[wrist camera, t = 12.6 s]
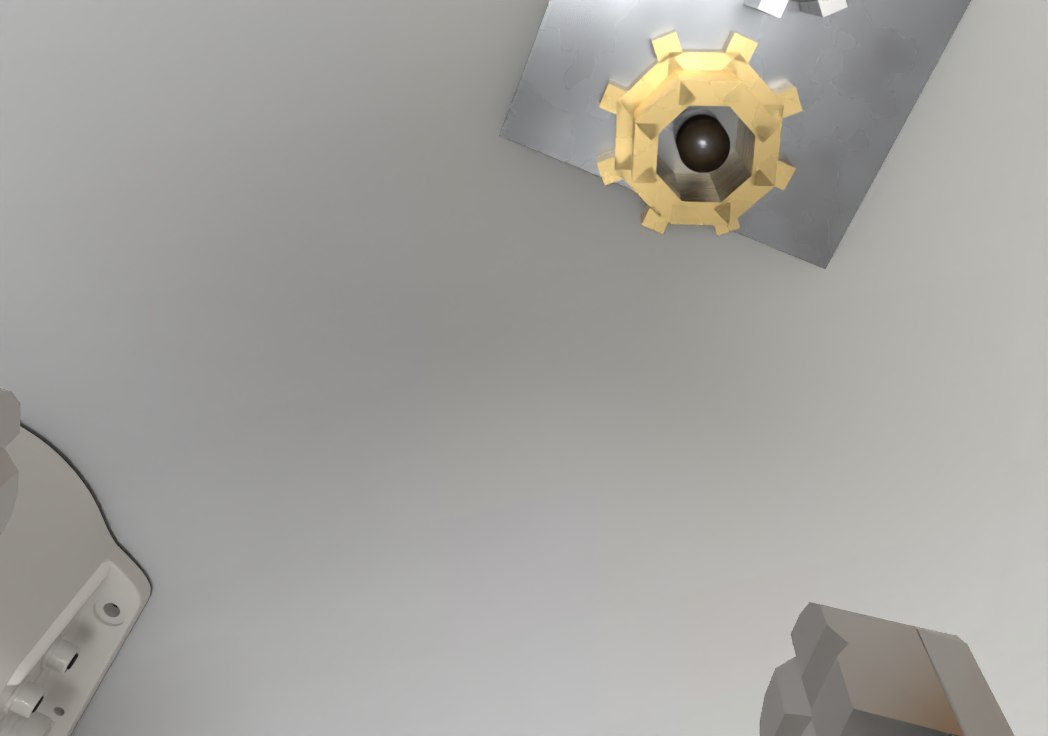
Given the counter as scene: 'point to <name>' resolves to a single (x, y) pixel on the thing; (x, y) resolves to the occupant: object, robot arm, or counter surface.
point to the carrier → (710, 131)
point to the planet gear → (670, 92)
